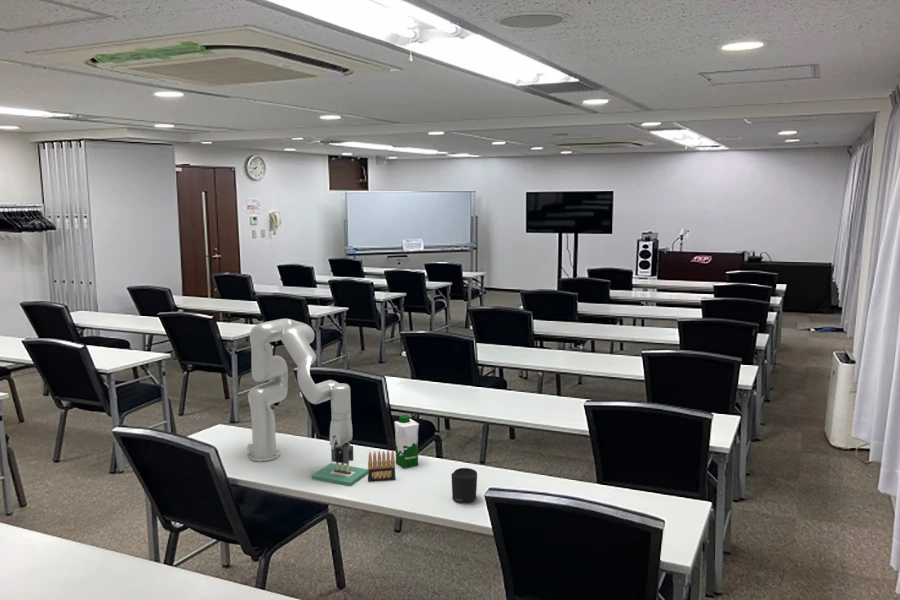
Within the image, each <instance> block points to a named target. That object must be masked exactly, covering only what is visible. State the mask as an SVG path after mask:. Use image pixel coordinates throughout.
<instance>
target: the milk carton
mask: <svg viewBox="0 0 900 600" xmlns="http://www.w3.org/2000/svg"><path fill="white" fill-rule="evenodd" d="M419 426H420V423H418V422H417V421H415V420H413V419H412V418H410V416H409V415H407V414H402V415H399V420H397V421H396V420H395V421H394V431H395V433H394V435H395V465H398V466H399V467H400V468H402V469H405V470H406V469H407V468H413V466H414V467H418V466H419V434H418V433H419V428H420V427H419ZM417 465H418V466H417Z"/></svg>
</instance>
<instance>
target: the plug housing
mask: <svg viewBox="0 0 900 600" xmlns="http://www.w3.org/2000/svg"><path fill="white" fill-rule="evenodd" d="M337 444H338V443H337ZM337 448H338V449H339V447H337ZM330 453H331V455H330V456H331V463H336V462H335V453H334V451H333V450H332V449H331V448H330ZM342 453H343V462H342V463H344V465H346V464H350V462H354V446H353V445H351V444H350V445H342ZM338 464H340V463H339V462H338Z"/></svg>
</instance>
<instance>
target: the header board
mask: <svg viewBox="0 0 900 600" xmlns="http://www.w3.org/2000/svg"><path fill="white" fill-rule="evenodd" d="M349 464H350V463H349ZM349 464H344V463H338V462H330V463H328V464H326V465H325V466H323V467H322V468H320V469H319V470H317V471H316V472H314V473H313V474H311V477H310V478H311V480H314V479H315V480H314V481H321V482H326V483H330V484H331V483H332V484H335V485H342V486H346V487H352V486H353V485H355V484H357V483H358V482H359V481H360V480H362V479H364V477H366V476H368V468H362V467H358V466H351V465H349ZM361 478H362V479H361Z"/></svg>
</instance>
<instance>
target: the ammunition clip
mask: <svg viewBox="0 0 900 600" xmlns="http://www.w3.org/2000/svg"><path fill="white" fill-rule="evenodd" d="M385 452H386V453H385ZM381 454H382V455H381ZM367 469H368V474H367V483H373V482H375V481H377V482H388V481H396V478H397V477H396V458H395V451H394V450H393V449H392V450H391V453H390V451H389V450H388V449H387V451H385V450H383V451H382V453H381V451H380V450H378V453H377V452H376V451H373V456H372V453H371V451H369V452H368V460H367ZM375 483H376V482H375Z"/></svg>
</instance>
